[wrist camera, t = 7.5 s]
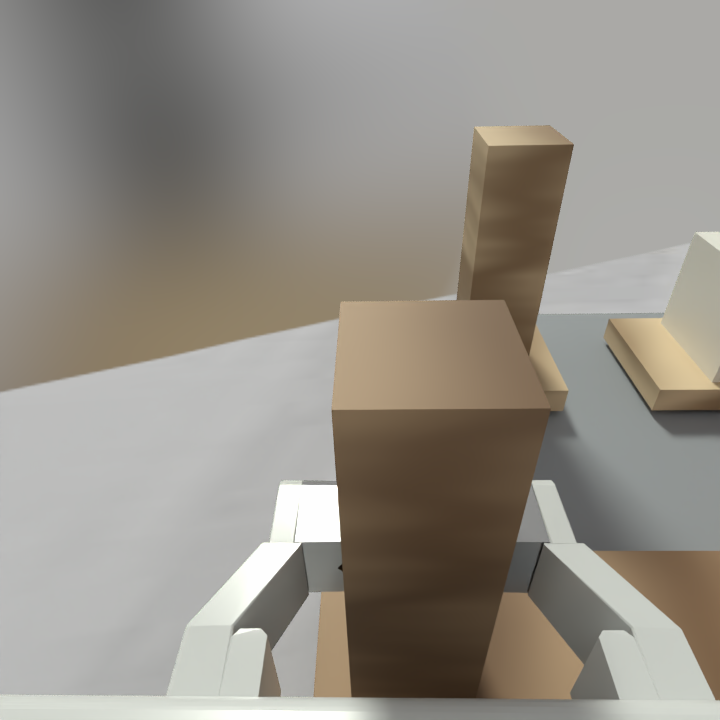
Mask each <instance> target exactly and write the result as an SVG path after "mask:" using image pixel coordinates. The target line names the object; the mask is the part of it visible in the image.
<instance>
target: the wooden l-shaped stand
mask: <svg viewBox="0 0 720 720" xmlns="http://www.w3.org/2000/svg"><path fill="white" fill-rule="evenodd" d="M550 411H551V407H550V405H549V402H548V400H547V398H546V395H545V393H544V391H543V388H542V386H541V384H540V381H539V379H538V377H537V374H536V372H535V370H534V367H533V365H532V363H531V360H530V358H529V356H528V354H527V351H526V349H525V347H524V344H523V342H522V340H521V337H520V335H519V333H518V330H517V328H516V326H515V323H514V321H513V319H512V316H511V314H510V312H509V309H508V307H507V305H506V302H505V300H445V301H360V302H359V301H358V302H357V301H356V302H341V305H340V317H339V329H338V340H337V352H336V364H335V376H334V388H333V399H332V423H333V437H334V452H335V466H336V481H337V495H338V510H339V524H340V539H341V553H342V568H343V582H344V591H341V592H321V605H320V618H319V631H318V644H317V658H316V671H315V684H314V697H366V698H487V699H571V695H570V692H571V690H572V688H573V686H574V684H575V682H576V680H577V678H578V676H579V674H580V672H581V671H582V669H583V667H584V664H583V663H582V662H581V660H580V659H579V658H578V657H577V655H576V654H575V653H574V652H573V650H572V649H571V648H570V647H569V646H568V644H567V643H566V642H565V641H564V639H563V638H562V637H561V636H560V634H559V633H558V632H557V631H556V629H555V628H554V627H553V626H552V625H551V623H550V622H549V621H548V620H547V618H546V617H545V616H544V615H543V613H542V612H541V611H540V610H539V608H538V607H537V606H536V605H535V604H534V602H533V601H532V600H531V599H530V597H529V596H528V593H510V592H503V591H504V587H505V584H506V580H507V576H508V572H509V568H510V564H511V561H512V557H513V553H514V549H515V545H516V541H517V538H518V534H519V530H520V526H521V522H522V518H523V515H524V511H525V507H526V503H527V499H528V495H529V492H530V488H531V484H532V480H533V476H534V472H535V468H536V465H537V461H538V457H539V453H540V449H541V445H542V442H543V438H544V434H545V430H546V426H547V422H548V419H549V415H550ZM593 552H594V553H595V554H597V555H598V556H599V557H600V558H601V559H602V560H603V561H605V562H606V563H607V564H608V565H609V566H610V567H611V568H613V569H614V570H615V571H616V572H617V573H618V574H619V575H620V576H622V577H623V578H624V579H625V580H626V581H627V582H628V583H630V584H631V585H632V586H633V587H634V588H635V589H636V590H638V591H639V592H640V593H641V594H642V595H643V596H644V597H645V598H647V599H648V600H649V601H650V602H651V603H652V604H653V605H655V606H656V607H657V608H658V609H659V610H660V611H661V612H662V613H664V614H665V615H666V616H667V617H668V618H669V619H670V620H672V621H673V622H674V623H675V624H676V625H677V626H678V627H680V628H681V629H682V631H683V633H684V635H685V638H686V640H687V642H688V644H689V646H690V648H691V650H692V652H693V654H694V656H695V658H696V660H697V662H698V664H699V667H700V669H701V671H702V673H703V675H704V677H705V679H706V681H707V683H708V685H709V687H710V689H711V691H712V694H713V696H714V698H715V700H720V551H593Z"/></svg>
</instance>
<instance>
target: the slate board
mask: <svg viewBox="0 0 720 720" xmlns="http://www.w3.org/2000/svg"><path fill="white" fill-rule="evenodd" d="M663 316H664V313H614V314H538V317H537V321H536V325H537V327H538V329H539V331H540V333H541V335H542V337H543V339H544V341H545V343H546V346H547V348H548V350H549V352H550V354H551V356H552V358H553V360H554V362H555V364H556V366H557V368H558V370H559V372H560V374H561V376H562V378H563V380H564V382H565V384H566V386H567V388H568V390H569V391H568V395H567V399H566V402H565V406H564V409H563V411H550V415H549V419H548V422H547V426H546V430H545V434H544V438H543V442H542V445H541V449H540V453H539V457H538V461H537V465H536V468H535V472H534V476H533V480H552V482H553V483H554V484H555V486H556V489H557V491H558V494H559V496H560V499H561V502H562V504H563V507H564V510H565V512H566V515H567V518H568V520H569V523H570V526H571V528H572V531H573V534H574V536H575V539H576V542H577V543H584V544H585V545H586V546H588V547H589V548H590V549H591V550H592V551H720V410H651V408H650V407H649V405H648V404H647V402H646V401H645V399H644V398H643V396H642V395H641V393H640V392H639V390H638V389H637V387H636V386H635V384H634V383H633V381H632V380H631V378H630V377H629V375H628V374H627V372H626V371H625V369H624V368H623V366H622V365H621V363H620V362H619V360H618V359H617V357H616V356H615V354H614V353H613V351H612V350H611V348H610V347H609V345H608V344H607V342H606V341H605V339H604V338H603V337H604V334H605V330H606V327H607V324H608V320H609V319H619V318H663Z"/></svg>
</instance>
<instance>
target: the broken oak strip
mask: <svg viewBox="0 0 720 720" xmlns="http://www.w3.org/2000/svg"><path fill="white" fill-rule="evenodd" d="M573 146H574V145H573V143H572V142H570V141H569V140H568V139H566V138H565V137H564V136H563V135H561V134H560V133H559V132H557V131H556V130H555V129H554V128H552V127H551V126H549V125H546V126H492V127H474V135H473V145H472V155H471V164H470V174H469V184H468V194H467V204H466V214H465V223H464V233H463V243H462V252H461V262H460V272H459V282H458V292H457V300H505V302H506V305H507V307H508V309H509V312H510V314H511V316H512V319H513V321H514V323H515V326H516V328H517V330H518V333H519V335H520V337H521V340H522V342H523V344H524V347H525V349H526V351H527V354H528V356H529V358H530V360H531V363H532V365H533V367H534V370H535V372H536V374H537V377H538V379H539V381H540V384H541V386H542V388H543V391H544V393H545V395H546V398H547V400H548V402H549V405H550V407H551V411H563V409H564V406H565V402H566V399H567V395H568V391H569V390H568V388H567V386H566V384H565V382H564V380H563V378H562V376H561V374H560V372H559V370H558V368H557V366H556V364H555V362H554V360H553V358H552V356H551V354H550V352H549V350H548V348H547V346H546V343H545V341H544V339H543V337H542V335H541V333H540V331H539V329H538V327H537V325H536V321H537V317H538V312H539V307H540V302H541V298H542V293H543V288H544V284H545V279H546V274H547V269H548V265H549V260H550V255H551V250H552V246H553V241H554V236H555V231H556V226H557V222H558V217H559V212H560V208H561V203H562V198H563V193H564V189H565V184H566V179H567V174H568V169H569V165H570V160H571V156H572V150H573ZM661 321H662V318H619V319H609V320H608V324H607V327H606V330H605V334H604V337H603V338H604V339H605V341H606V342H607V344H608V345H609V347H610V348H611V350H612V351H613V353H614V354H615V356H616V357H617V359H618V360H619V362H620V363H621V365H622V366H623V368H624V369H625V371H626V372H627V374H628V375H629V377H630V378H631V380H632V381H633V383H634V384H635V386H636V387H637V389H638V390H639V392H640V393H641V395H642V396H643V398H644V399H645V401H646V402H647V404H648V405H649V407H650V408H651V410H720V382H711V381H710V380H709V378H708V377H707V376H706V375H705V374H704V373H703V372H702V370H701V369H700V368H699V367H698V366H697V365H696V363H695V362H694V361H693V360H692V359H691V358H690V356H689V355H688V354H687V353H686V352H685V351H684V349H683V348H682V347H681V346H680V345H679V344H678V343H677V341H676V340H675V339H674V338H673V337H672V336H671V334H670V333H669V332H668V331H667V330H666V329H665V327H664V326H663V325H662V324H661Z"/></svg>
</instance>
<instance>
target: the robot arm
mask: <svg viewBox="0 0 720 720" xmlns="http://www.w3.org/2000/svg"><path fill="white" fill-rule="evenodd" d="M341 591H344V582H343V568H342V553H341V539H340V524H339V510H338V495H337V481H307V480H304V481H299V480H282V481H281V483H280V485H279V488H278V494H277V499H276V505H275V510H274V516H273V521H272V527H271V533H270V538H269V543H262V544H261V545H260V546H259V547H258V548H257V549H256V550H255V551H254V552H253V553H252V555H251V556H250V557H249V558H248V559H247V560H246V561H245V562H244V563H243V564H242V565H241V567H240V568H239V569H238V570H237V571H236V572H235V573H234V574H233V575H232V576H231V577H230V579H229V580H228V581H227V582H226V583H225V584H224V585H223V586H222V587H221V588H220V590H219V591H218V592H217V593H216V594H215V595H214V596H213V597H212V598H211V599H210V600H209V602H208V603H207V604H206V605H205V606H204V607H203V608H202V609H201V610H200V611H199V612H198V614H197V615H196V616H195V617H194V618H193V619H192V620H191V621H190V622H189V623H188V624H187V626H186V628H185V632H184V635H183V638H182V642H181V645H180V649H179V652H178V656H177V659H176V663H175V666H174V670H173V673H172V676H171V680H170V683H169V687H168V690H167V694H166V696H108V695H0V720H720V700H715V698H714V696H713V694H712V691H711V689H710V687H709V685H708V683H707V681H706V679H705V677H704V675H703V673H702V671H701V669H700V667H699V664H698V662H697V660H696V658H695V656H694V654H693V652H692V650H691V648H690V646H689V644H688V642H687V640H686V638H685V635H684V633H683V631H682V629H681V628H680V627H678V626H677V625H676V624H675V623H674V622H673V621H672V620H670V619H669V618H668V617H667V616H666V615H665V614H664V613H662V612H661V611H660V610H659V609H658V608H657V607H656V606H655V605H653V604H652V603H651V602H650V601H649V600H648V599H647V598H645V597H644V596H643V595H642V594H641V593H640V592H639V591H638V590H636V589H635V588H634V587H633V586H632V585H631V584H630V583H628V582H627V581H626V580H625V579H624V578H623V577H622V576H620V575H619V574H618V573H617V572H616V571H615V570H614V569H613V568H611V567H610V566H609V565H608V564H607V563H606V562H605V561H603V560H602V559H601V558H600V557H599V556H598V555H597V554H595V553H594V552H593V551H592V550H591V549H590V548H589V547H588V546H586V545H585V544H584V543H577V542H576V539H575V536H574V534H573V531H572V528H571V526H570V523H569V520H568V518H567V515H566V512H565V510H564V507H563V504H562V502H561V499H560V496H559V494H558V491H557V489H556V486H555V484H554V483H553V482H552V480H532V484H531V488H530V492H529V495H528V499H527V503H526V507H525V511H524V515H523V518H522V522H521V526H520V530H519V534H518V538H517V541H516V545H515V549H514V553H513V557H512V561H511V564H510V568H509V572H508V576H507V580H506V584H505V587H504V591H503V592H510V593H528V596H529V597H530V599H531V600H532V601H533V602H534V604H535V605H536V606H537V607H538V608H539V610H540V611H541V612H542V613H543V615H544V616H545V617H546V618H547V620H548V621H549V622H550V623H551V625H552V626H553V627H554V628H555V629H556V631H557V632H558V633H559V634H560V636H561V637H562V638H563V639H564V641H565V642H566V643H567V644H568V646H569V647H570V648H571V649H572V650H573V652H574V653H575V654H576V655H577V657H578V658H579V659H580V660H581V662H582V663H583V664H584V667H583V669H582V671H581V672H580V674H579V676H578V678H577V680H576V682H575V684H574V686H573V688H572V690H571V692H570V695H571V699H487V698H366V697H280V695H281V689H280V685H279V681H278V677H277V673H276V669H275V665H274V661H273V657H272V653H271V651H272V649H273V648H274V646H275V645H276V643H277V642H278V640H279V639H280V637H281V636H282V634H283V633H284V631H285V630H286V628H287V627H288V625H289V624H290V622H291V621H292V619H293V618H294V616H295V615H296V613H297V612H298V610H299V609H300V607H301V606H302V604H303V603H304V601H305V600H306V598H307V597H308V595H309V593H308V592H341Z"/></svg>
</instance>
